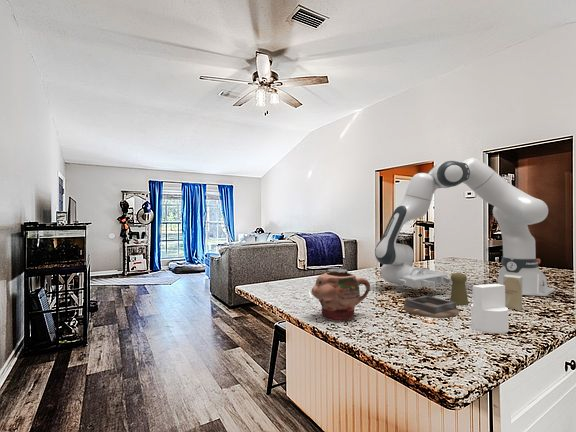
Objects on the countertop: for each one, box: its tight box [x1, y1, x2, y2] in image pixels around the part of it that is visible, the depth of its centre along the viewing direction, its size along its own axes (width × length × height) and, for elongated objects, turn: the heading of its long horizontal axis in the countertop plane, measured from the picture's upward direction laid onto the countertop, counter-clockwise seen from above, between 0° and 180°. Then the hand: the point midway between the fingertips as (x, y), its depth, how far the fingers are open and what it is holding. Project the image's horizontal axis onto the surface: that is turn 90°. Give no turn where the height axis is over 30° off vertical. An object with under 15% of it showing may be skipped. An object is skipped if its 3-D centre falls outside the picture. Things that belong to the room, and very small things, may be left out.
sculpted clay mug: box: [311, 271, 371, 322], centre depth 103 cm, size 20×12×14 cm, turn 110°
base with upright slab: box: [470, 283, 510, 334], centre depth 91 cm, size 9×9×12 cm
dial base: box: [403, 295, 460, 319], centre depth 109 cm, size 17×17×3 cm
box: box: [503, 275, 523, 311], centre depth 110 cm, size 5×4×11 cm
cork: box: [449, 272, 469, 306], centre depth 117 cm, size 6×6×11 cm
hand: (443, 282), depth 123 cm, fingers open, 8 cm apart
